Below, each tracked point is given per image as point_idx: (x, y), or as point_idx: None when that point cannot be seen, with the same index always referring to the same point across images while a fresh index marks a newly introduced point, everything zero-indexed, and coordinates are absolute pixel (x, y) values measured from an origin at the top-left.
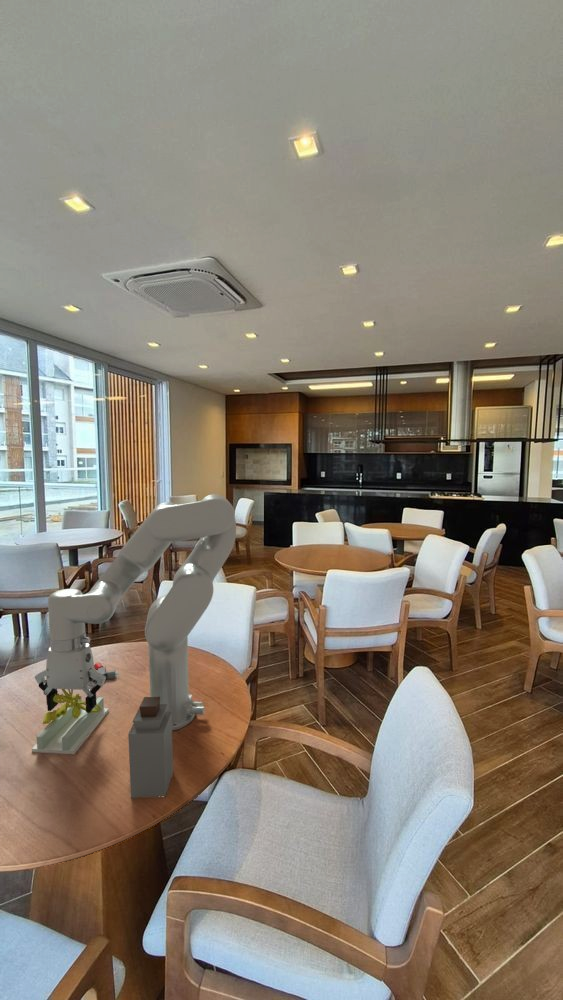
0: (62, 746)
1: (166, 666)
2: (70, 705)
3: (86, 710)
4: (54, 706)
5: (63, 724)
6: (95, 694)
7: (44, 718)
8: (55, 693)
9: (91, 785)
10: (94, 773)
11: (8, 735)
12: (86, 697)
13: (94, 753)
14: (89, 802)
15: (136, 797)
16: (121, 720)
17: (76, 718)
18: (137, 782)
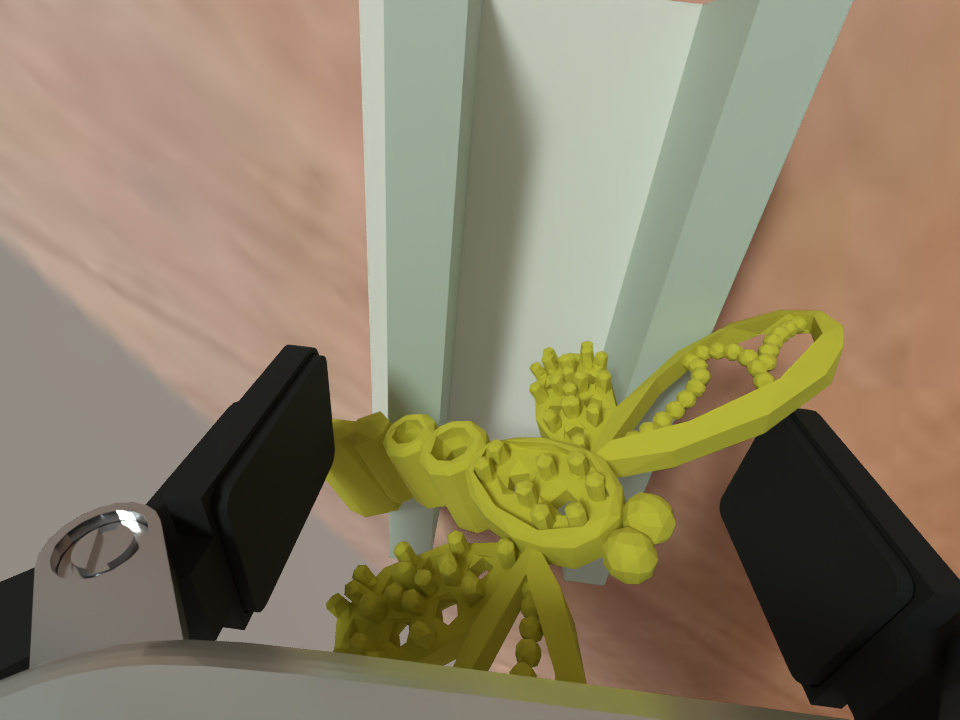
0: None
1: None
2: (528, 477)
3: (730, 526)
4: (327, 417)
5: (453, 331)
6: (952, 618)
7: (334, 485)
8: (253, 506)
9: (747, 632)
10: (752, 594)
11: (115, 337)
12: (820, 704)
13: None
14: (750, 675)
15: None
16: (941, 203)
17: (512, 211)
18: None
